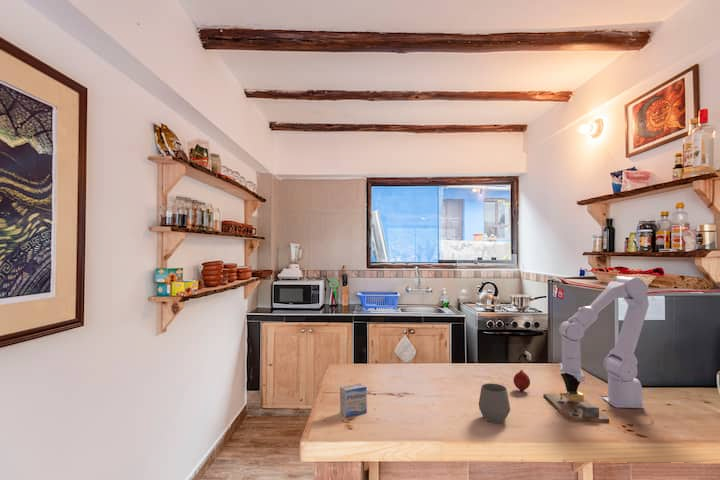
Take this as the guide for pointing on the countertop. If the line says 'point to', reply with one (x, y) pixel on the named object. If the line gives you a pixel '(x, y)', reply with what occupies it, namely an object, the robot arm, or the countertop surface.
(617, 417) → the countertop surface
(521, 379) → the onion
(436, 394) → the countertop surface
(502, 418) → the cup
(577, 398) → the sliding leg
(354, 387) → the medicine box
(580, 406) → the gauge board
